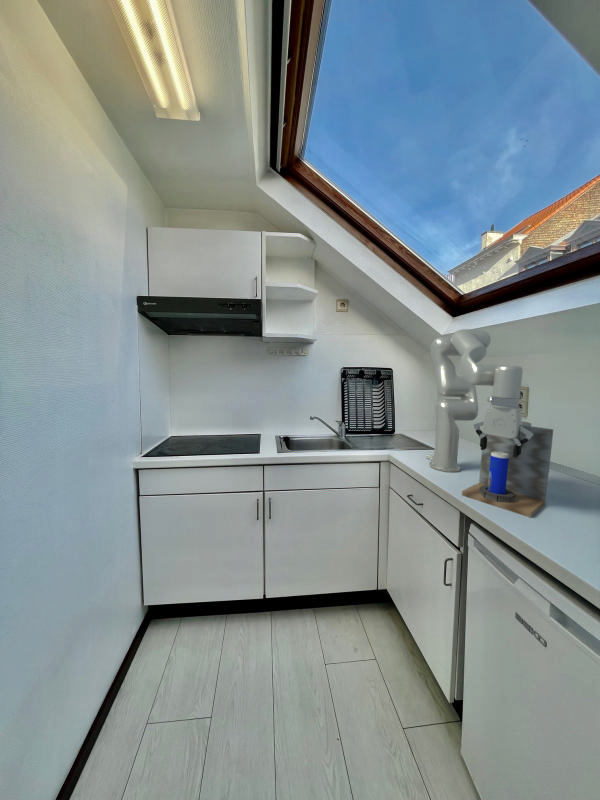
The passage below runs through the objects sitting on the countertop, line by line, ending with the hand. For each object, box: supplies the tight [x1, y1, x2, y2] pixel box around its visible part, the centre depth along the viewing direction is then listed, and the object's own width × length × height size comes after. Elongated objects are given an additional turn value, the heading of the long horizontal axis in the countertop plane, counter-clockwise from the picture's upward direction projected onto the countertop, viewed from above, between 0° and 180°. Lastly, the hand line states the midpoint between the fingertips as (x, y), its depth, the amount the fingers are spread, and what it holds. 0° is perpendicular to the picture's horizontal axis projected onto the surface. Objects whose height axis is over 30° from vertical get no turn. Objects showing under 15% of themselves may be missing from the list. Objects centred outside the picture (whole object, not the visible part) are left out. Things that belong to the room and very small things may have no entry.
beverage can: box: [487, 451, 509, 495], centre depth 102 cm, size 5×5×15 cm
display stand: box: [461, 425, 554, 518], centre depth 103 cm, size 20×16×26 cm
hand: (499, 452), depth 102 cm, fingers open, 9 cm apart
